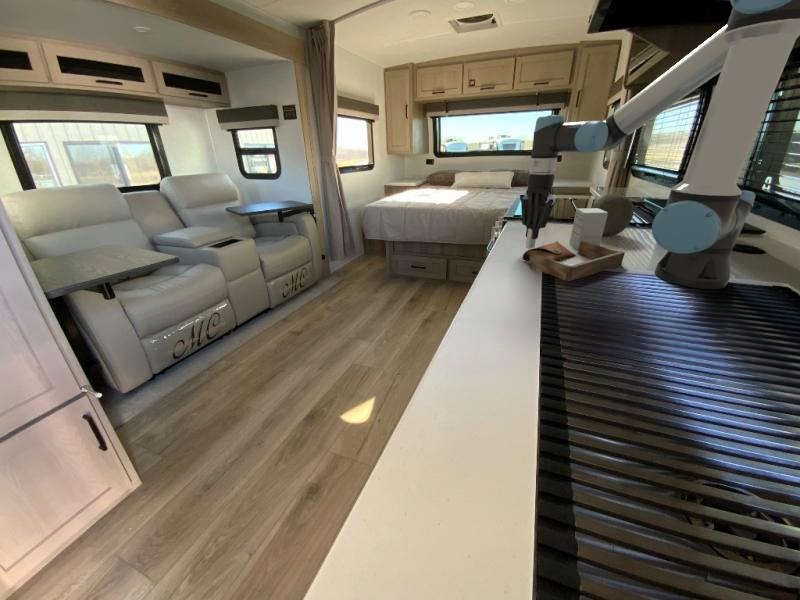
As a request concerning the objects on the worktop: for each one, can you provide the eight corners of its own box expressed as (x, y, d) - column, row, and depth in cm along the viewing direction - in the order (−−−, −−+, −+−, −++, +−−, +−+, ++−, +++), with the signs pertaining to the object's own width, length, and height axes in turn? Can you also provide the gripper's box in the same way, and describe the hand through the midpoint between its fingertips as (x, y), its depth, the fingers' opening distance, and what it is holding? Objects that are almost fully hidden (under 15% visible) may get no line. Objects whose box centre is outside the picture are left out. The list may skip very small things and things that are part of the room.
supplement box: (590, 244, 118) (598, 207, 112) (599, 250, 111) (609, 212, 105) (568, 243, 118) (576, 207, 113) (576, 250, 112) (584, 212, 106)
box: (621, 265, 98) (625, 252, 96) (568, 281, 88) (571, 267, 86) (579, 253, 109) (582, 241, 107) (528, 266, 99) (530, 253, 97)
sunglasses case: (546, 267, 97) (539, 245, 97) (526, 272, 103) (520, 252, 103) (578, 255, 107) (571, 235, 107) (558, 260, 113) (552, 242, 113)
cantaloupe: (634, 240, 120) (647, 198, 114) (592, 239, 122) (603, 197, 116) (617, 230, 133) (628, 191, 126) (580, 229, 135) (589, 191, 128)
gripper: (516, 172, 104) (507, 244, 115) (551, 175, 94) (537, 254, 105) (533, 170, 108) (522, 241, 118) (568, 173, 97) (553, 250, 108)
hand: (529, 247), depth 111 cm, fingers closed
